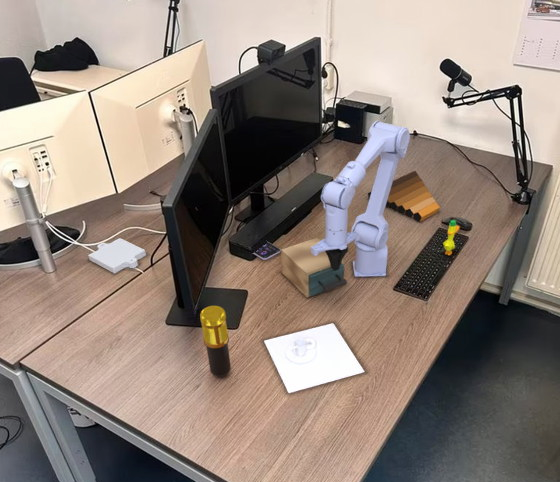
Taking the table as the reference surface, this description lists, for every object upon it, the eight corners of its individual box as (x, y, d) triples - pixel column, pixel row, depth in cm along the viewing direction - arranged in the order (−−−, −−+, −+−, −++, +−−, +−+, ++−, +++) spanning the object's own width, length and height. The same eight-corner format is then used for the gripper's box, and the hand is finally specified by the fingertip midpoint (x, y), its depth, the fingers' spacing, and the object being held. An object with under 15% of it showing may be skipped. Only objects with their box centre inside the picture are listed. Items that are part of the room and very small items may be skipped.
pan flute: (410, 177, 219) (367, 198, 207) (411, 169, 217) (368, 189, 205) (464, 198, 204) (421, 222, 192) (465, 190, 202) (422, 213, 190)
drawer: (352, 292, 162) (353, 273, 157) (319, 305, 157) (319, 286, 153) (318, 262, 174) (319, 243, 170) (287, 273, 170) (286, 255, 166)
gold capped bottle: (185, 395, 134) (172, 332, 121) (219, 362, 142) (210, 301, 130) (203, 405, 131) (192, 342, 119) (237, 371, 139) (230, 309, 127)
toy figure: (448, 246, 180) (454, 213, 172) (458, 250, 178) (465, 217, 171) (438, 255, 176) (444, 222, 169) (448, 259, 174) (454, 226, 167)
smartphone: (252, 233, 190) (282, 250, 181) (252, 234, 190) (282, 251, 181) (235, 241, 186) (264, 259, 177) (235, 243, 186) (264, 260, 177)
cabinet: (342, 283, 166) (343, 259, 161) (306, 297, 162) (306, 273, 156) (316, 260, 176) (316, 237, 171) (282, 272, 172) (281, 249, 166)
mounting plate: (151, 257, 181) (150, 252, 180) (119, 276, 174) (118, 271, 172) (116, 240, 190) (115, 235, 189) (84, 257, 183) (83, 252, 181)
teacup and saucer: (312, 339, 148) (312, 328, 145) (323, 359, 142) (324, 347, 139) (281, 347, 146) (280, 336, 143) (291, 367, 140) (291, 356, 137)
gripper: (321, 240, 141) (320, 283, 150) (367, 224, 146) (364, 267, 155) (306, 228, 146) (307, 271, 154) (352, 213, 151) (349, 255, 160)
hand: (334, 268), depth 155 cm, fingers closed
